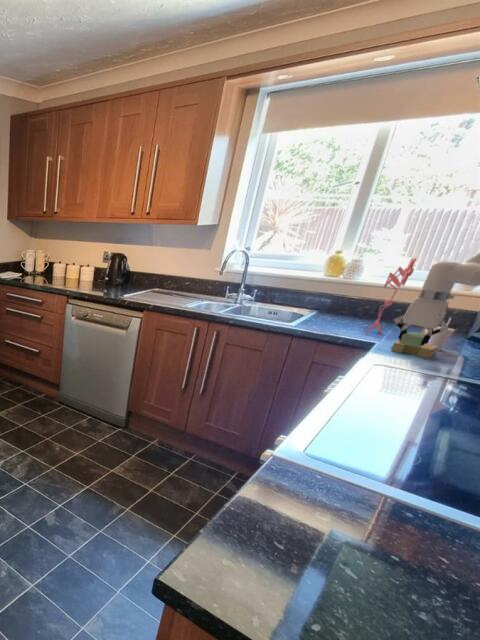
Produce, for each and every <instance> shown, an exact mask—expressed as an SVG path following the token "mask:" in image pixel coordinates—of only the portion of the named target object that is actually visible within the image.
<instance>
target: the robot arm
mask: <svg viewBox="0 0 480 640" xmlns="http://www.w3.org/2000/svg"><path fill="white" fill-rule="evenodd" d="M455 284H459V285H465V286H470V287H478V286H480V252H479V253H477V254H475V255H474V256H472V257H471V258H469V259H468V260H466V261H465V262H463V263H461V262H455V261H441V260H440V261H436V262H434V263H433V264H432V265H431V267H430V269H429V271H428V274H427V276H426V278H425V280H424V283H423V285H422V287H421V290H420V292H419V294H418V295H417V297H414V298H413V300H412V301H411V303H410V304H409V306H408V307H407V309H406V312H405V313H404V314H402V315H400V316H397V317H396V318H394V319H393V322H394V324H396V325H397V327H398V328H399V330H400V332H399V334H398V337H397V339H398V341H400V340H401V338H402V335H403V334H405V333H408V328H410V327H411V326H417V327H423V328H426V329H427V330H426V331H427V333H426V334H425V336H424V339H423V341H422V343H421V345H422V346H423V345H425V344H429V341H430V337H431V335H434V334H436V333H439V332H442V331H445V330H447V329H449V328H450V327H449V325H448V326H447V325H446V324H447V323H446V322H445V320H444V319H445V317H446V314H447V311H448V308H449V305H450V304H449V303H450V301H448V300H454V298H455V295H453V294H451V292H452V290H453V288H454V285H455ZM401 320H402V321H401ZM437 327H442V328H440V329H437V330H435V331H434V328H437Z"/></svg>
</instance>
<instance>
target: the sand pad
mask: <svg viewBox="0 0 480 640" xmlns="http://www.w3.org/2000/svg"><path fill="white" fill-rule="evenodd" d="M399 342H400V341H399V340H397V341H395V342H394V343H393V344H392V346H391V349H390V352H395V353H398V354H402V353H406V354H410V355H415V356H417V357H419V358H423V359H429V358H431V357H433V356H434V355H435V354H436V352H437V351H438V350H437V348H438V346H434V345H429V343H427V344H425V345H423V346H422V345H421V346H419V347H416V346H411V345H406V344H401V343H399Z"/></svg>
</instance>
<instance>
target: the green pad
mask: <svg viewBox="0 0 480 640" xmlns="http://www.w3.org/2000/svg"><path fill="white" fill-rule="evenodd" d="M425 335H426V334H425V333H421V332H414V331H413V332H410V331H407V333H405V334H403V335H402V338H401V340H400V342H399V343H401V344H406V345H411V346H416V347H419V346H421V343H422V341H423V339H424V336H425Z"/></svg>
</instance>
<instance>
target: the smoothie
mask: <svg viewBox="0 0 480 640" xmlns="http://www.w3.org/2000/svg"><path fill="white" fill-rule="evenodd" d="M451 320H452V317H449V318H448V321H447V323H446V325H447V326H448V328H449V329H447V330H445V331H442V332H439V333H436V334H434V335H431V337H430V339H429V342H428V344H429V345H434V346H438V348H437V350H436V351H442V349H443V348H444V346H445V345H446V343H447V342H448V340H449V339H450V338H451V336H452V335H453V333H455V331H456V330H455V329H454V328H451V327H449V325H450V323H451ZM440 328H442V327H441V326H439V327H437V328H434V331H435V330H437V329H440Z"/></svg>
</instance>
